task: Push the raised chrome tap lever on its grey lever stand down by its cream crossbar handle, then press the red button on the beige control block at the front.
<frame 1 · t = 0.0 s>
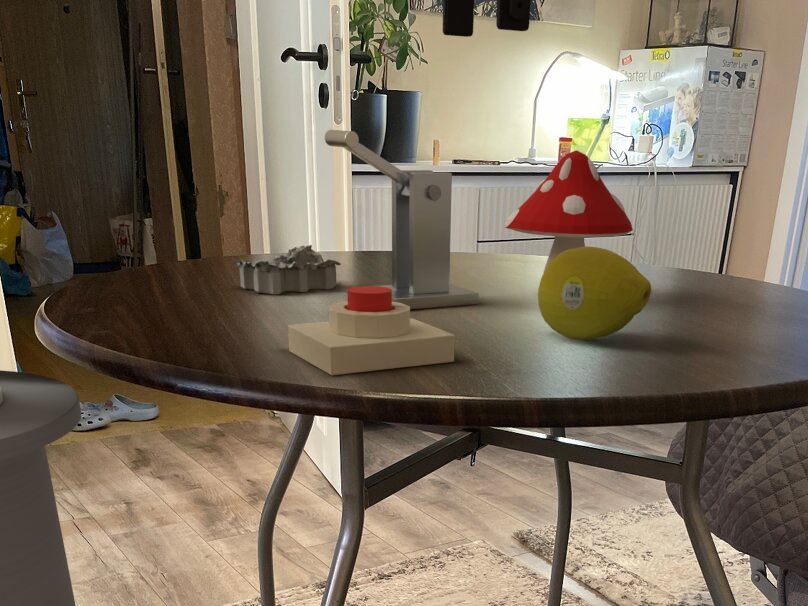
hand: (484, 32, 86), 25 cm above the table, tool pointing down, fingers open, 9 cm apart
egg carton: (290, 289, 105), on the table
decorative mushroom: (562, 297, 105), on the table
button: (369, 300, 74), point 4 cm above the table, slide at 0.1 cm
lemon: (585, 341, 84), on the table
grey lever stand: (420, 301, 99), on the table
tap lever: (385, 167, 91), point 13 cm above the table, hinge at 28.0°
control block: (370, 356, 76), on the table
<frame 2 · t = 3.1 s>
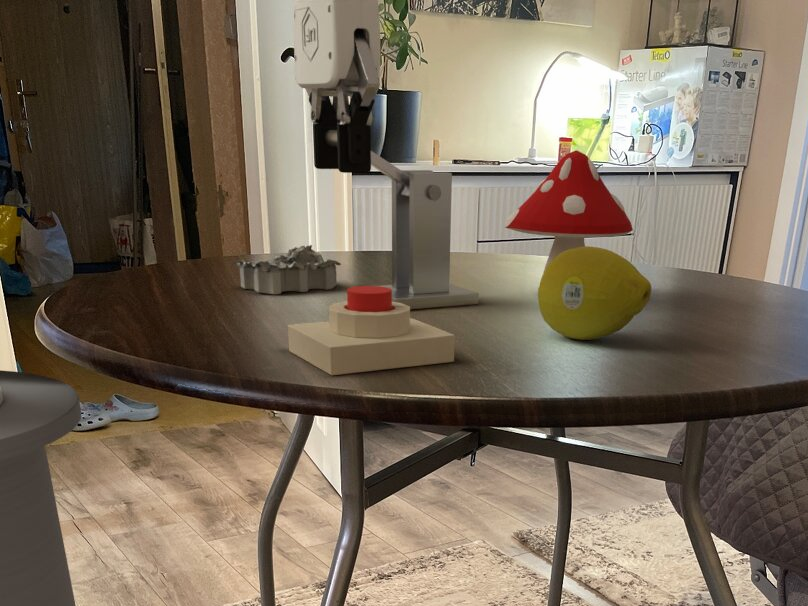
hand: (342, 168, 89), 13 cm above the table, tool pointing down, fingers closed on tap lever, 5 cm apart
tap lever: (385, 167, 91), point 13 cm above the table, hinge at 28.0°, touching gripper
everything else where it was.
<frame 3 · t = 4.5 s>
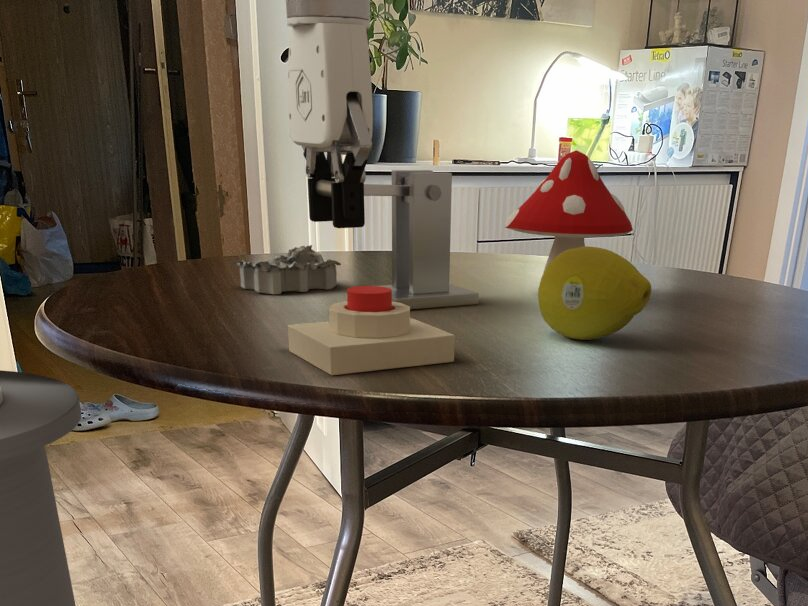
hand: (336, 222, 91), 8 cm above the table, tool pointing down, fingers closed on tap lever, 5 cm apart
tap lever: (380, 190, 92), point 11 cm above the table, hinge at 1.3°, touching gripper
everything else where it was.
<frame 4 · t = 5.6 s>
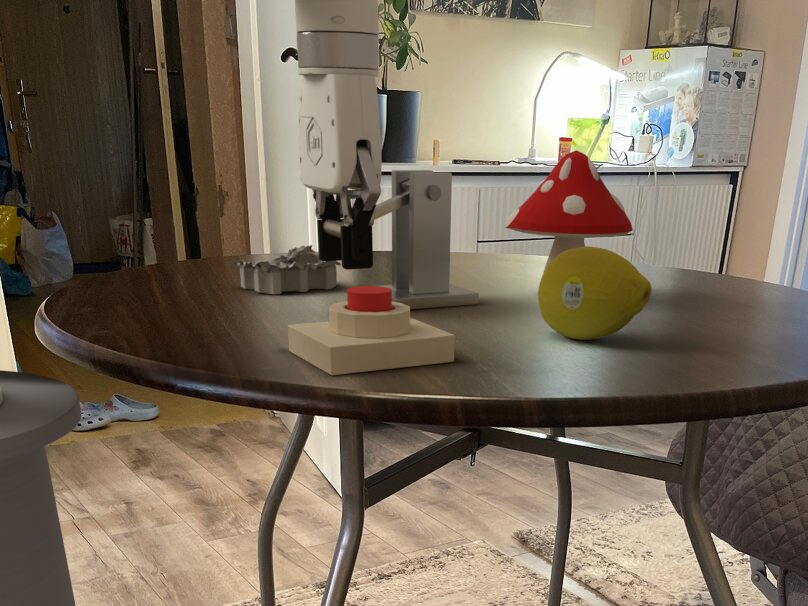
hand: (345, 262, 93), 4 cm above the table, tool pointing down, fingers closed on tap lever, 5 cm apart
tap lever: (383, 208, 93), point 9 cm above the table, hinge at -20.3°, touching gripper
everything else where it was.
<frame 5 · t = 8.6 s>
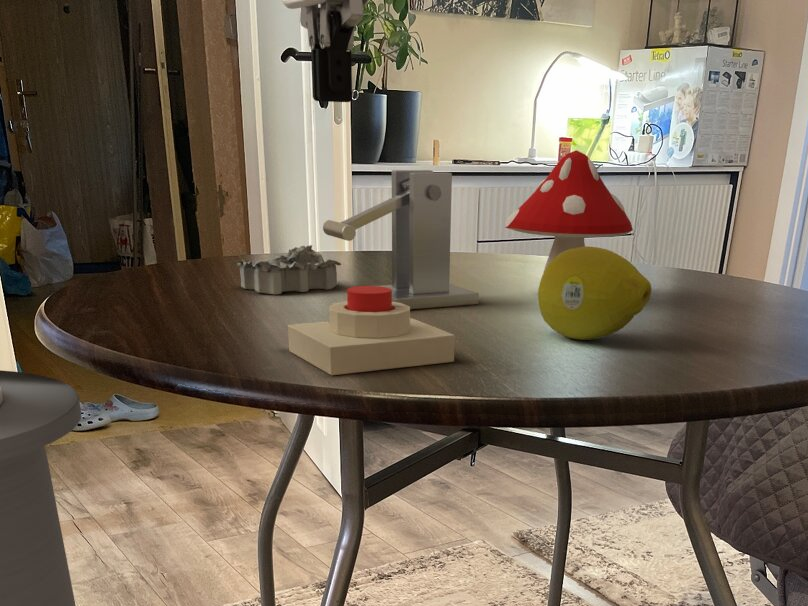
hand: (332, 101, 83), 19 cm above the table, tool pointing down, fingers closed
tap lever: (383, 208, 93), point 9 cm above the table, hinge at -20.6°
everything else where it was.
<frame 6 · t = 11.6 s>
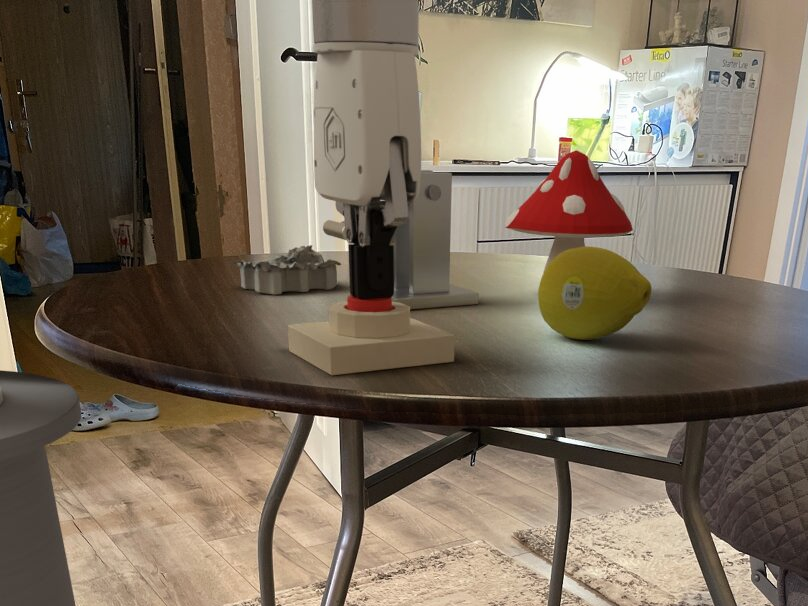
hand: (372, 296, 74), 5 cm above the table, tool pointing down, fingers closed
button: (369, 308, 74), point 4 cm above the table, slide at -0.5 cm, touching gripper
everything else where it was.
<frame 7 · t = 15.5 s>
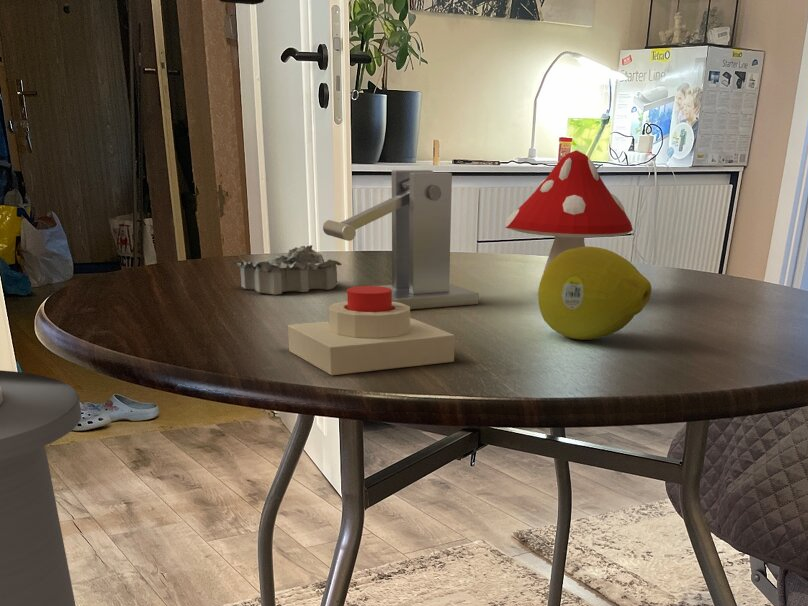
hand: (241, 1, 68), 25 cm above the table, tool pointing down, fingers closed
button: (369, 300, 74), point 4 cm above the table, slide at 0.1 cm
everything else where it was.
at the end: tap lever at -21° (first picture: +28°); button pushed in 1.1 cm at the most during the clip, back to where it started at the end; button slide at 0.1 cm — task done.
